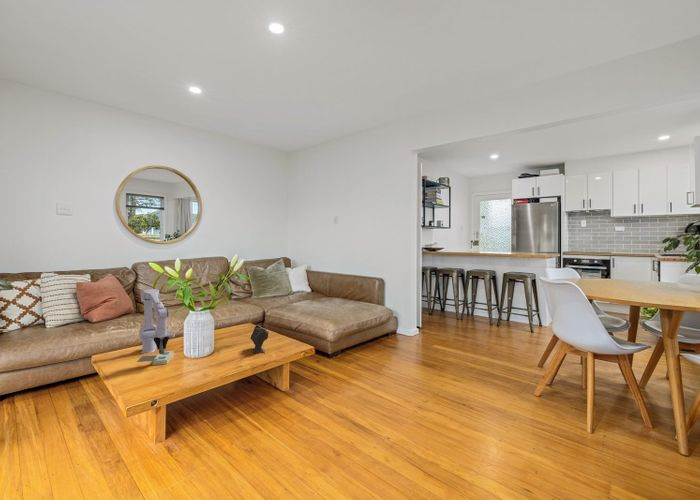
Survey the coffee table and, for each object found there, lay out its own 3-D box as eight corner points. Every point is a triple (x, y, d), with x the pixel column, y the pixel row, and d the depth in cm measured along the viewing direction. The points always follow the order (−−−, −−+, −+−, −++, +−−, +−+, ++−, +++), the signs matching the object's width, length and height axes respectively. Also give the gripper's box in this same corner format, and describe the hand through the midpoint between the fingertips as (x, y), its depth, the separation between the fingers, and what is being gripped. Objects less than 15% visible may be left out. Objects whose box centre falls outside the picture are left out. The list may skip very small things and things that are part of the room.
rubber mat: (141, 356, 220) (141, 356, 220) (158, 355, 222) (158, 355, 222) (136, 362, 210) (136, 361, 210) (154, 361, 213) (154, 360, 213)
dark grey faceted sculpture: (272, 346, 247) (272, 322, 246) (265, 353, 232) (265, 328, 231) (253, 345, 248) (254, 321, 248) (245, 352, 233) (245, 327, 232)
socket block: (160, 356, 222) (160, 351, 222) (173, 355, 224) (173, 351, 224) (152, 365, 206) (152, 360, 206) (166, 364, 208) (166, 359, 208)
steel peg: (159, 352, 212) (159, 338, 211) (164, 352, 213) (164, 338, 212) (158, 354, 209) (158, 340, 209) (163, 353, 210) (163, 339, 210)
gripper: (146, 330, 204) (146, 351, 205) (172, 329, 208) (172, 350, 209) (150, 326, 211) (150, 347, 212) (175, 325, 215) (175, 346, 216)
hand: (161, 348), depth 211 cm, fingers closed on steel peg, 3 cm apart
